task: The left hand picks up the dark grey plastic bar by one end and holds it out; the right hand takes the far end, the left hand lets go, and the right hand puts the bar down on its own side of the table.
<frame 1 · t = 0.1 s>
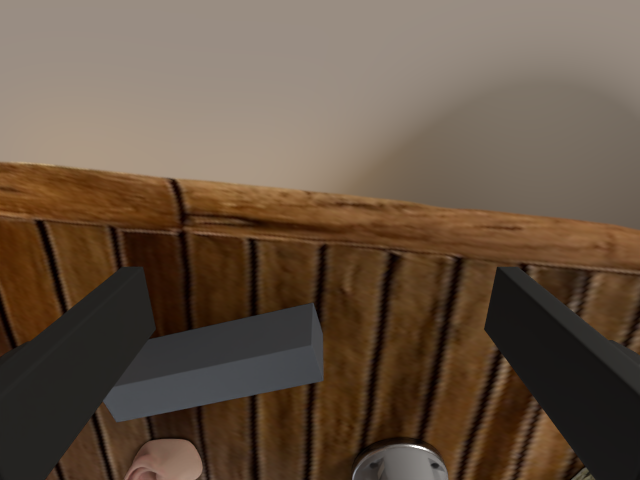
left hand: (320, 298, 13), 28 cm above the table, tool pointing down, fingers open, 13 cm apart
fossil: (597, 474, 57), on the table
anatomical model: (166, 463, 56), on the table
bar: (228, 338, 47), on the table
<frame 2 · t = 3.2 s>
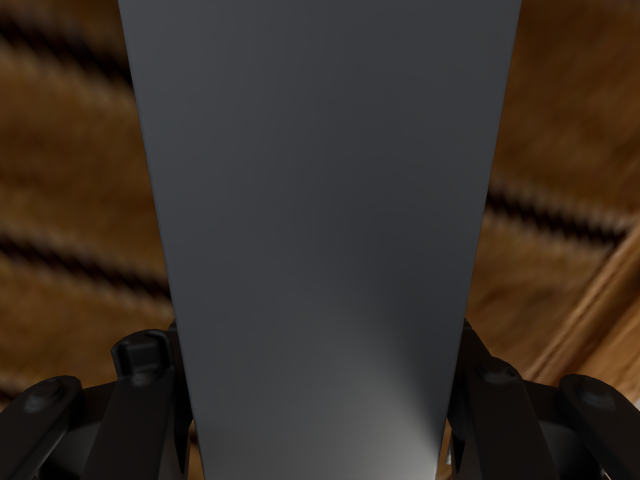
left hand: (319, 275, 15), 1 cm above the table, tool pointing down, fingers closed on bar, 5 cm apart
bar: (319, 31, 12), on the table, touching left hand
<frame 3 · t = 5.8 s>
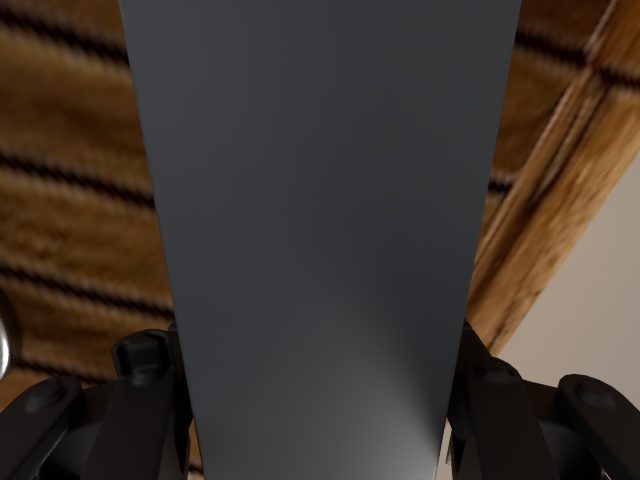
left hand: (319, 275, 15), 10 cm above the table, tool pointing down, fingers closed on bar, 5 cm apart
bar: (319, 31, 12), point 10 cm above the table, touching left hand
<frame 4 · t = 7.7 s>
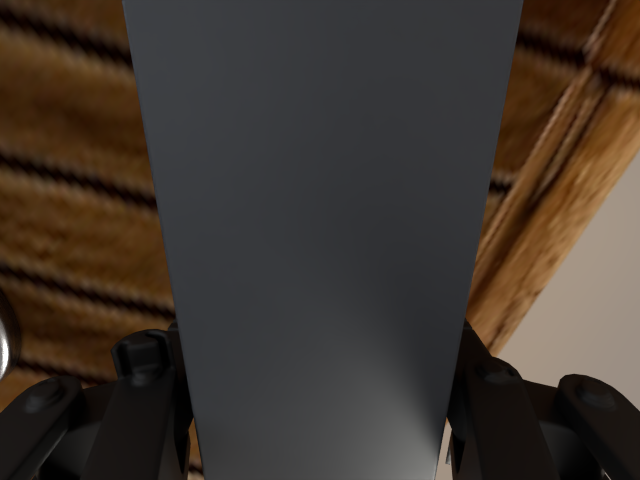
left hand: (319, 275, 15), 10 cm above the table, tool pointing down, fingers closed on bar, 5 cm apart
bar: (321, 31, 12), point 10 cm above the table, touching left hand, right hand
when the left hand's fingers open (10 cm above the table, at t = 8.4 s): bar stays where it is, held by the right hand.
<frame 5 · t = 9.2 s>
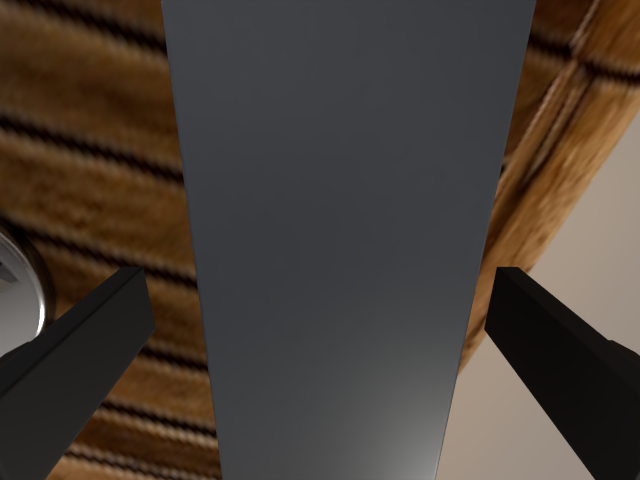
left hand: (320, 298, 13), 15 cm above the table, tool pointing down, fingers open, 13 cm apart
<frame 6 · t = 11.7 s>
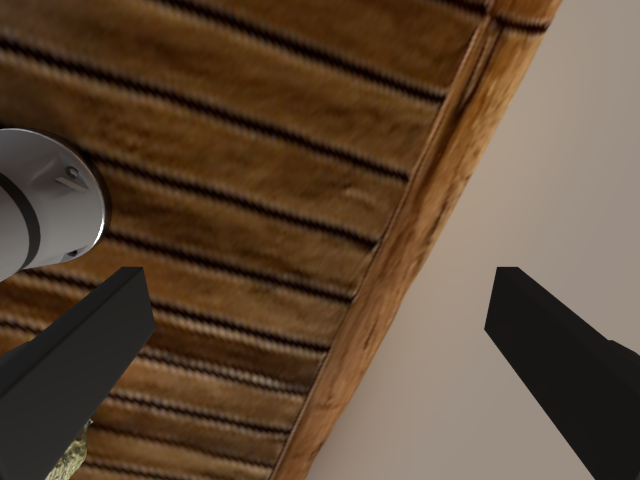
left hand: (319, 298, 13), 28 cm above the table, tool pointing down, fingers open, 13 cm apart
fossil: (44, 405, 51), on the table
when the right hand's fingers open (3 cm above the table, at t = 15.7 s): bar drops 2 cm, on the table.
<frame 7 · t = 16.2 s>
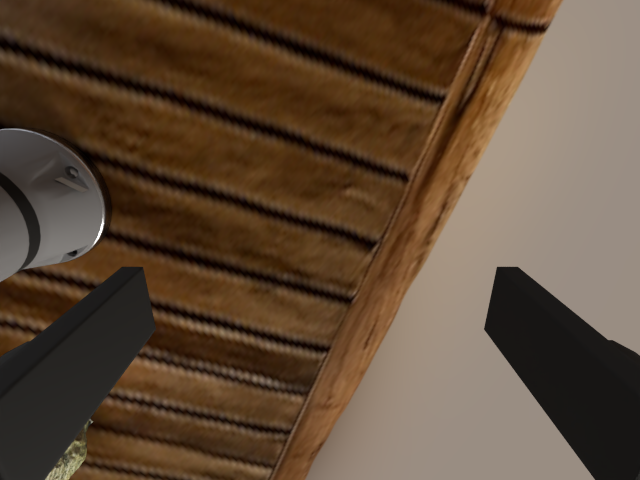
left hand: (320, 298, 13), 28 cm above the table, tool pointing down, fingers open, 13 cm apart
fossil: (44, 405, 51), on the table
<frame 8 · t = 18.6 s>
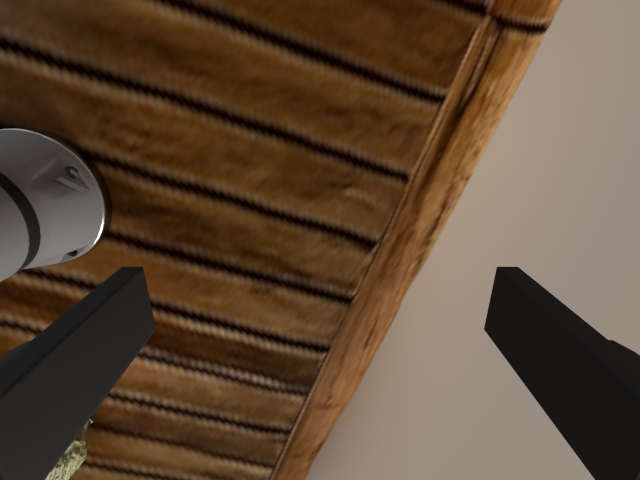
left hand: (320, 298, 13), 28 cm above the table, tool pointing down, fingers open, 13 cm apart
fossil: (44, 405, 51), on the table
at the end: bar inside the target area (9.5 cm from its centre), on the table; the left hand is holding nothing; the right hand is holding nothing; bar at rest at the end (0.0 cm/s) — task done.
